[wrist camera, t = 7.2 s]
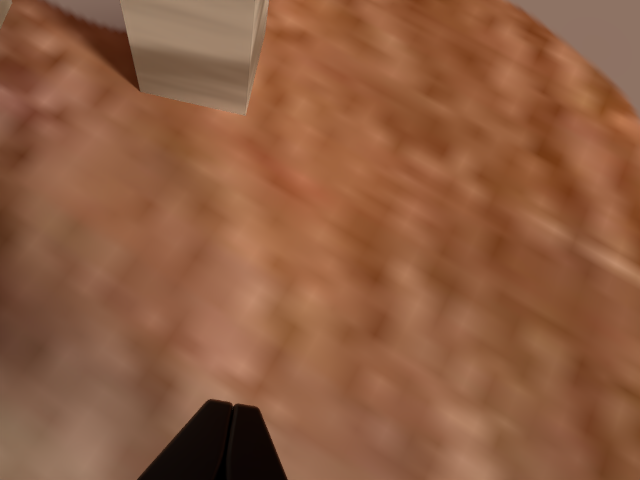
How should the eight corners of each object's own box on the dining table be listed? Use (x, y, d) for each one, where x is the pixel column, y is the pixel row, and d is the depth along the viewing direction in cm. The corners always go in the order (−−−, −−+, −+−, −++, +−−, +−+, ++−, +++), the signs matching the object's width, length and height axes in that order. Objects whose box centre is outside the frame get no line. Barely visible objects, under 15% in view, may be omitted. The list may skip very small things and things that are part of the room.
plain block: (245, 115, 27) (256, -9, 19) (140, 91, 26) (109, -45, 19) (265, 33, 28) (281, -110, 21) (166, 9, 28) (148, -147, 20)
